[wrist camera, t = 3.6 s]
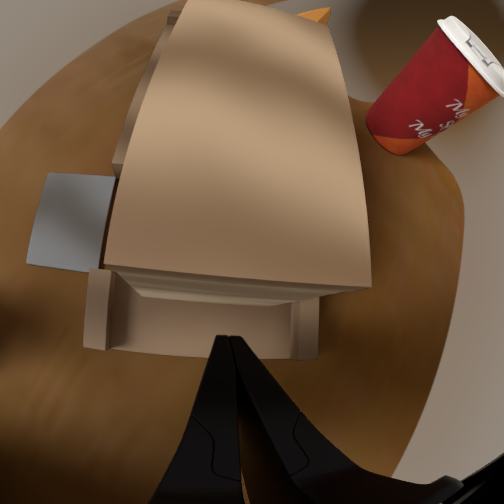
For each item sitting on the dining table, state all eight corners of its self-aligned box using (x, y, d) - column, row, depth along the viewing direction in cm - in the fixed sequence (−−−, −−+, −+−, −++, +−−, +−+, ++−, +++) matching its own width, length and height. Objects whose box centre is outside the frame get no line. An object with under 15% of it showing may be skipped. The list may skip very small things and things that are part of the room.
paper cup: (398, 178, 23) (517, 98, 10) (342, 114, 23) (437, 8, 10) (424, 146, 26) (514, 80, 13) (377, 93, 26) (454, 13, 13)
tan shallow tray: (366, 352, 18) (394, 354, 15) (21, 329, 13) (-3, 329, 10) (338, 73, 25) (352, 55, 22) (118, 33, 19) (118, 9, 16)
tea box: (269, 307, 16) (371, 287, 8) (141, 297, 15) (103, 263, 6) (272, 120, 20) (328, 26, 11) (174, 103, 18) (191, -7, 9)
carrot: (293, 65, 25) (327, 44, 21) (262, 34, 22) (295, 10, 19) (329, 24, 33) (351, 11, 30) (310, 3, 31) (332, -10, 27)
